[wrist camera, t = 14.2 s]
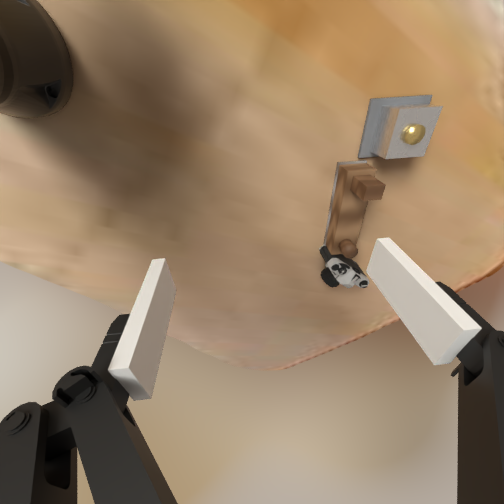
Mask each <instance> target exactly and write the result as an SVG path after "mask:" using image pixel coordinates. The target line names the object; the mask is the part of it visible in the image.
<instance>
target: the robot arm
mask: <svg viewBox="0 0 504 504" xmlns="http://www.w3.org/2000/svg"><path fill="white" fill-rule="evenodd" d="M72 86H73V71H72V65H71V60H70V57H69V53H68V51H67V48H66V45H65V43H64V41H63V39H62V37H61V35H60V33H59V31H58V29H57V27H56V26H55V24H54V23H53V21H52V20H51V18H50V17H49V15H48V14H47V13H46V11H45V10H44V9H43V8H42V6H41V5H40V4H39V3H38V2H37V1H36V0H0V113H3V114H7V115H10V116H15V117H21V118H37V117H42V116H47V115H51V114H53V113H56V112H57V111H59V110H60V109H61V108H63V107H64V105H65V104H66V103H67V101H68V99H69V97H70V95H71V91H72ZM366 272H367V273H368V275H369V276H370V277H371V279H372V280H373V282H374V283H375V284H376V286H377V287H378V288H379V290H380V291H381V293H382V294H383V295H384V297H385V298H386V299H387V301H388V302H389V304H390V305H391V306H392V308H393V309H394V310H395V312H396V313H397V315H398V316H399V317H400V319H401V320H402V321H403V323H404V324H405V326H406V327H407V328H408V330H409V331H410V332H411V334H412V335H413V336H414V338H415V339H416V341H417V342H418V343H419V345H420V346H421V347H422V349H423V350H424V352H425V353H426V354H427V356H428V357H429V359H430V360H431V361H432V363H433V364H434V365H439V364H448V363H451V362H452V360H453V359H454V358H455V357H456V356H457V357H458V358H459V360H460V361H461V363H460V364H459V365H458V366H457V367H456V368H455V370H454V371H453V372H452V373H451V376H453V377H454V376H455V375H456V374H457V373H458V372H459V376H458V382H459V383H458V386H459V387H458V486H457V487H458V488H457V504H504V332H503V331H497V330H495V329H494V328H493V327H492V326H491V325H490V324H489V323H488V322H486V321H485V320H484V319H483V318H482V317H481V316H480V315H479V314H478V313H477V312H476V311H475V310H474V309H473V308H471V307H470V306H469V305H468V304H466V302H465V301H464V300H463V299H462V298H460V297H459V295H458V294H456V293H455V292H454V291H453V290H452V289H451V288H450V287H448V286H446V285H444V284H443V283H441V282H434V281H433V280H432V279H431V278H430V277H429V276H428V275H427V274H426V273H425V272H424V271H423V270H422V269H421V268H420V267H419V266H418V265H417V264H416V263H415V262H414V261H412V260H411V259H410V258H409V257H408V256H407V255H406V254H405V253H404V252H403V251H402V250H401V249H400V248H399V247H398V246H397V245H396V244H395V243H394V242H393V241H392V240H391V239H390V238H379V239H377V240H376V243H375V246H374V249H373V252H372V255H371V258H370V261H369V264H368V267H367V270H366ZM175 295H176V287H175V284H174V281H173V279H172V276H171V273H170V270H169V267H168V264H167V261H166V259H165V258H163V259H152V262H151V264H150V267H149V269H148V272H147V274H146V277H145V279H144V282H143V284H142V287H141V289H140V292H139V294H138V296H137V299H136V301H135V304H134V306H133V309H132V311H131V314H124V315H119V316H118V317H117V318H116V319H115V321H113V323H112V324H111V326H110V328H109V330H108V332H107V336H105V338H104V341H103V344H102V345H101V347H100V349H99V351H98V353H97V356H96V358H95V360H94V362H93V364H92V366H91V367H89V366H80V367H77V368H75V369H73V370H71V371H69V372H68V373H66V374H65V375H64V376H63V377H62V378H61V379H60V380H59V381H58V383H57V384H56V385H55V388H54V390H53V395H52V399H53V400H54V401H52V402H50V403H47V404H45V405H43V406H41V405H39V404H37V403H36V402H28V403H25V404H22V405H20V406H19V407H17V408H15V409H14V410H12V411H11V412H10V413H9V414H8V415H7V416H6V417H5V418H4V419H3V420H2V421H1V423H0V504H77V448H78V451H79V454H80V457H81V461H82V464H83V467H84V470H85V473H86V477H87V480H88V483H89V487H90V490H91V493H92V496H93V499H94V502H95V504H178V503H177V502H176V500H175V498H174V496H173V494H172V492H171V490H170V488H169V486H168V484H167V482H166V480H165V478H164V476H163V474H162V472H161V470H160V468H159V467H158V464H157V463H156V461H155V459H154V457H153V455H152V453H151V451H150V449H149V447H148V445H147V443H146V441H145V439H144V437H143V435H142V433H141V431H140V429H139V427H138V425H137V424H136V422H135V420H134V418H133V416H132V414H131V412H130V410H129V408H128V406H127V405H126V404H127V401H128V398H129V396H130V397H131V398H132V399H133V400H134V401H135V400H143V399H151V398H152V393H153V389H154V385H155V380H156V376H157V372H158V368H159V363H160V359H161V355H162V350H163V346H164V342H165V338H166V333H167V329H168V325H169V320H170V316H171V312H172V308H173V303H174V299H175Z"/></svg>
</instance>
